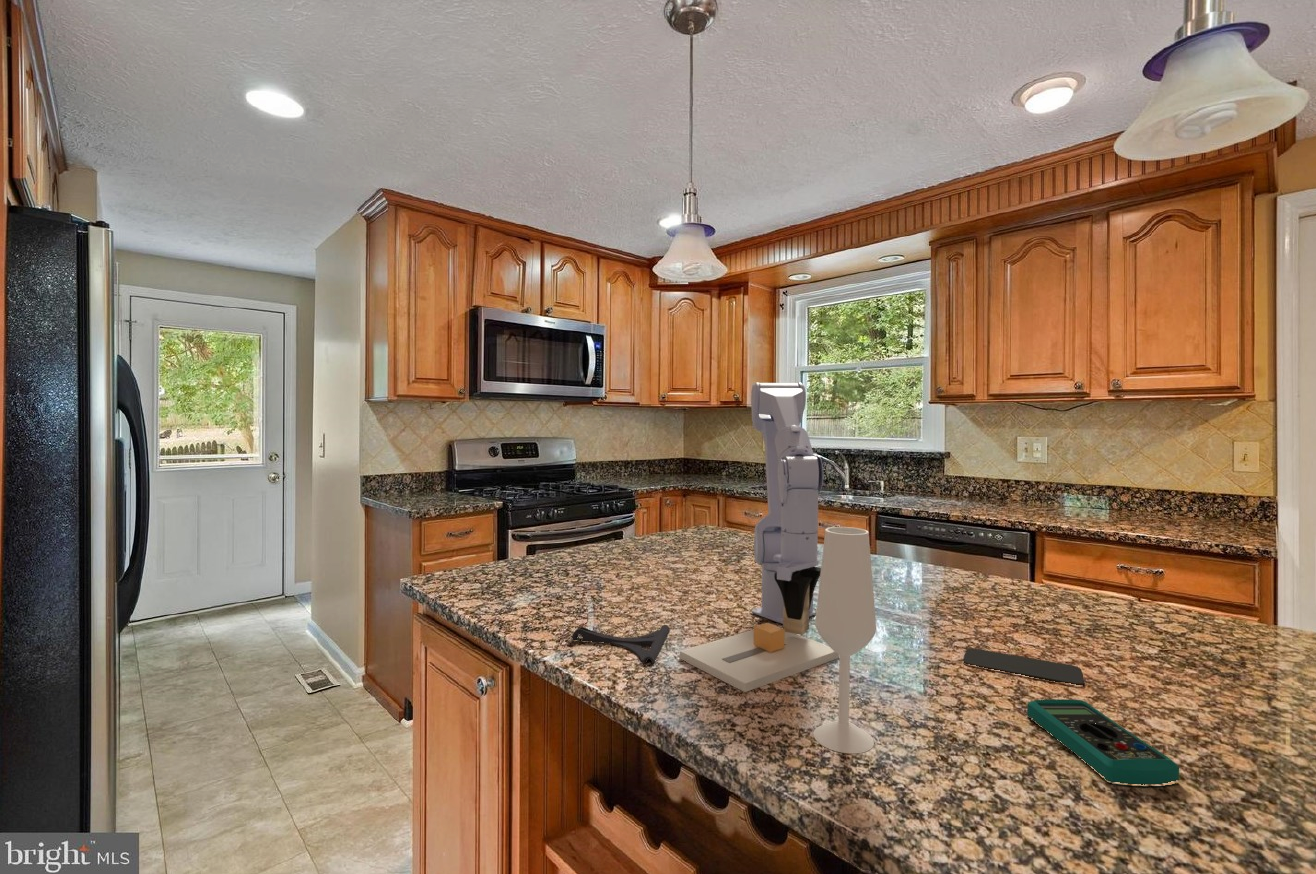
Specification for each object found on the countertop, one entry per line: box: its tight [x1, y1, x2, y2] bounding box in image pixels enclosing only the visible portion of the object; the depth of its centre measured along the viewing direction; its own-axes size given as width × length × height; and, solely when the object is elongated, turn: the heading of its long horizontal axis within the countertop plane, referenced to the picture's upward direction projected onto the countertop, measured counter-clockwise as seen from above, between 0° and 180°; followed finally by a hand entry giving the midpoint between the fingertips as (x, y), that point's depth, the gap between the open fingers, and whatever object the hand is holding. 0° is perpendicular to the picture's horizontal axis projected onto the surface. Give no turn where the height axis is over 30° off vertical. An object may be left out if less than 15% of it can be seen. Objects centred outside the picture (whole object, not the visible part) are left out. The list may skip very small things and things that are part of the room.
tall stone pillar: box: [782, 584, 810, 636], centre depth 99 cm, size 3×3×8 cm
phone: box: [962, 647, 1085, 685], centre depth 91 cm, size 7×1×15 cm
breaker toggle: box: [753, 622, 785, 652], centre depth 95 cm, size 3×4×3 cm
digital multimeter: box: [1026, 698, 1180, 785], centre depth 69 cm, size 7×15×3 cm, turn 0°
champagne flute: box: [813, 526, 877, 755], centre depth 71 cm, size 7×7×24 cm
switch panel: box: [679, 629, 839, 693], centre depth 94 cm, size 20×14×1 cm
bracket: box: [571, 624, 671, 665], centre depth 100 cm, size 14×15×3 cm
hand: (798, 615), depth 99 cm, fingers closed on tall stone pillar, 3 cm apart
